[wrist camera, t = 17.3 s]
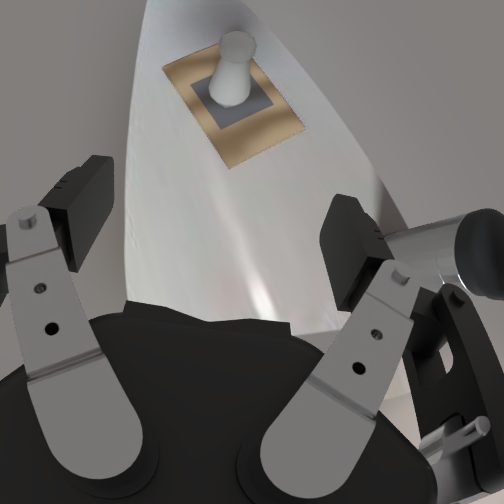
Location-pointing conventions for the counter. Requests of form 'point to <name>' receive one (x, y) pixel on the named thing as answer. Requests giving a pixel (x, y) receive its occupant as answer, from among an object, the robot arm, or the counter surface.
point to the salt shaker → (233, 69)
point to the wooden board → (233, 108)
